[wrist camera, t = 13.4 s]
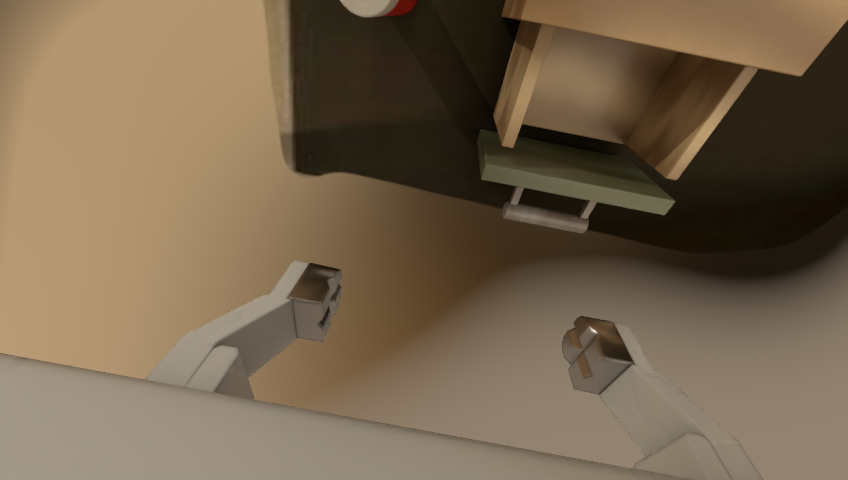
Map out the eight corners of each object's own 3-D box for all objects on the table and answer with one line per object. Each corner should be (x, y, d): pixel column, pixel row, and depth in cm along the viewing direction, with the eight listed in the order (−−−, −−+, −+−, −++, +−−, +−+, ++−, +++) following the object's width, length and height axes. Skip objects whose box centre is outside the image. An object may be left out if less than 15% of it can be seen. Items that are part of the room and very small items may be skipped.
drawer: (596, 209, 31) (630, 260, 24) (465, 184, 30) (466, 229, 24) (746, -42, 19) (882, -67, 13) (538, -86, 19) (575, -133, 13)
